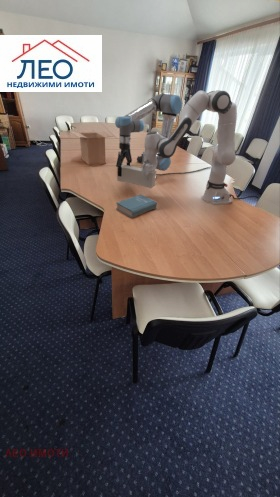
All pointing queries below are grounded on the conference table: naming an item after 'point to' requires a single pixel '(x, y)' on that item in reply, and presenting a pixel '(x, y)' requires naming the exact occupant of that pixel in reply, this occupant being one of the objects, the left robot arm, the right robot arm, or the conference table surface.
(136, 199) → the book
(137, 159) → the laser sight
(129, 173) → the long box
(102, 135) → the box
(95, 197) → the conference table surface
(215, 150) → the right robot arm
